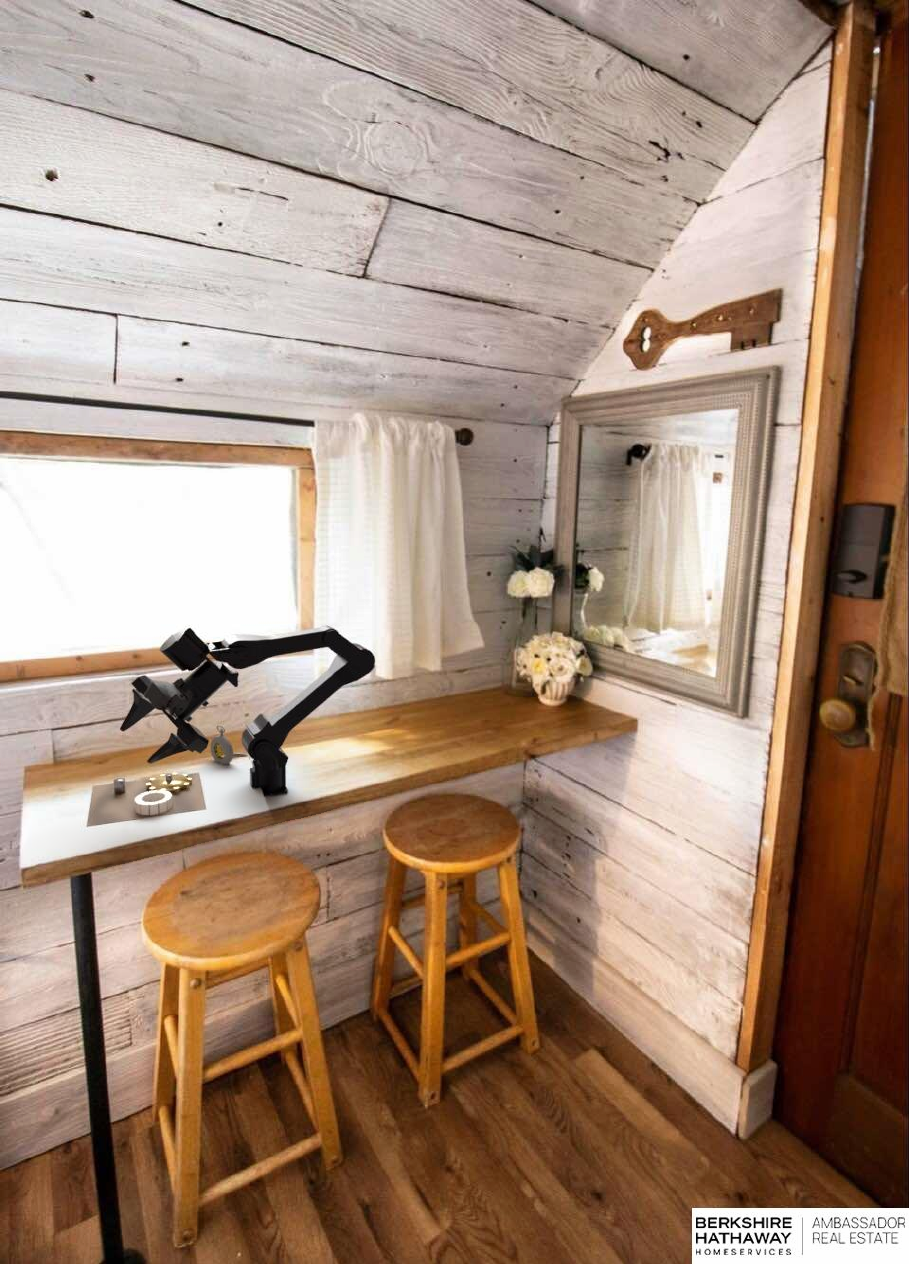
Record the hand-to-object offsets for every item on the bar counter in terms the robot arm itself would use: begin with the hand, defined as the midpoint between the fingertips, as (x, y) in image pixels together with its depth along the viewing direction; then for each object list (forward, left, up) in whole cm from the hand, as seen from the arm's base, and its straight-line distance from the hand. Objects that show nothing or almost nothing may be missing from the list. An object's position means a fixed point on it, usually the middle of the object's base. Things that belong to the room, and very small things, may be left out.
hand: (134, 746), depth 127 cm
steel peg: (+3, -7, -12) cm, 14 cm away
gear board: (-2, -3, -13) cm, 14 cm away
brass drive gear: (-6, -7, -12) cm, 15 cm away
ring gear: (-3, +2, -12) cm, 12 cm away
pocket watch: (-19, -18, -14) cm, 29 cm away
